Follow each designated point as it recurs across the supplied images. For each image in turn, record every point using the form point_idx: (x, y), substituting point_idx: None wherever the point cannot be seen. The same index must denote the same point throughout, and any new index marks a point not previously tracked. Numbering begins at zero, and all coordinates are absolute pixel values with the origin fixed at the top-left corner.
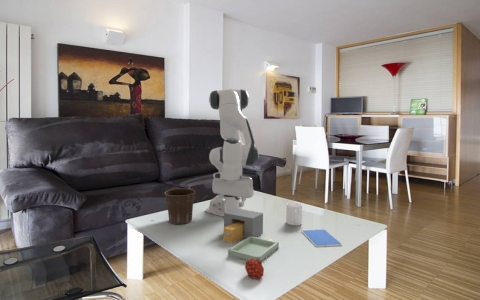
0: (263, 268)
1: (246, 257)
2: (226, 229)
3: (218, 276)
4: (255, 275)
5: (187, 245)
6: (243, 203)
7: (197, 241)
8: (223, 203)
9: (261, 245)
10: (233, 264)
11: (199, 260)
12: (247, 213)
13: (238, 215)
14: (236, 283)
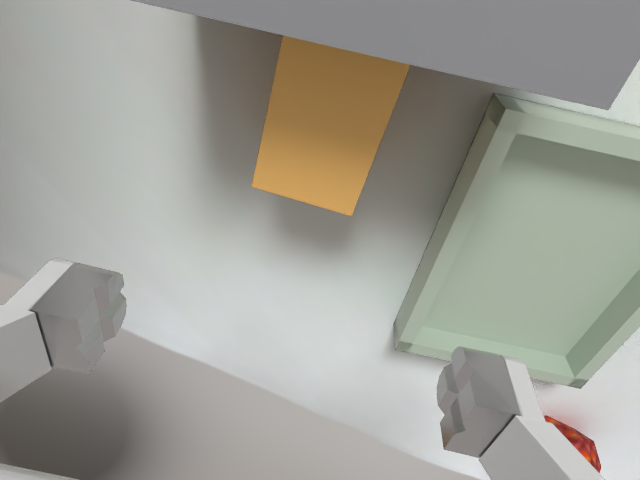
0: (600, 468)
1: None
2: (288, 192)
3: (410, 444)
4: None
5: (127, 272)
6: (533, 412)
7: (131, 211)
8: (108, 324)
9: (601, 175)
10: None
11: (286, 378)
12: None
13: (348, 41)
14: None
